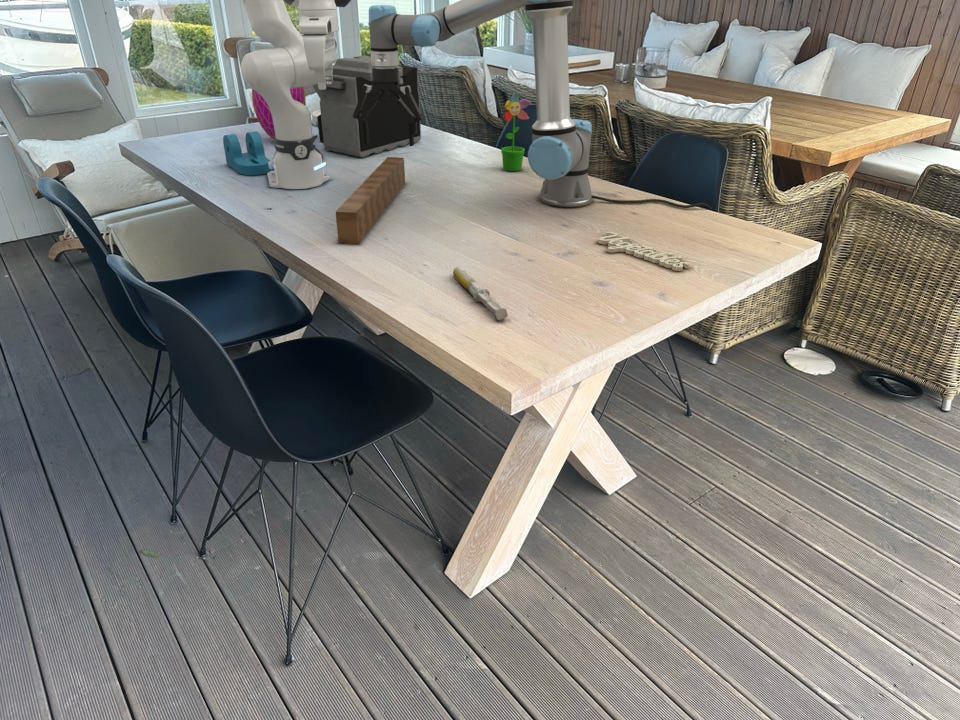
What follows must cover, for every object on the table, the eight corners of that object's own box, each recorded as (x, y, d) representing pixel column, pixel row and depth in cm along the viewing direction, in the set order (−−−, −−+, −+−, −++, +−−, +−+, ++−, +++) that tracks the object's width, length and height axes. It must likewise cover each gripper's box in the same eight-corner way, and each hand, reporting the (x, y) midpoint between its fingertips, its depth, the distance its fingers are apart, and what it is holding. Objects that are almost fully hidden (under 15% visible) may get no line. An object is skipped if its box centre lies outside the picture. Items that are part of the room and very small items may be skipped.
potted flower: (506, 173, 227) (508, 93, 214) (495, 167, 233) (496, 89, 220) (530, 170, 231) (534, 91, 218) (519, 164, 237) (522, 87, 224)
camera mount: (227, 164, 233) (221, 132, 227) (257, 160, 238) (252, 129, 233) (244, 176, 220) (239, 143, 215) (276, 172, 225) (271, 139, 220)
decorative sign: (584, 239, 172) (609, 230, 178) (583, 243, 172) (609, 234, 178) (672, 271, 155) (697, 260, 161) (671, 275, 156) (696, 264, 161)
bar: (389, 183, 217) (387, 156, 213) (405, 183, 216) (404, 157, 212) (338, 243, 171) (335, 211, 167) (358, 244, 171) (355, 212, 166)
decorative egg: (293, 132, 276) (283, 50, 261) (319, 140, 264) (310, 56, 249) (249, 139, 265) (236, 54, 250) (273, 148, 253) (261, 60, 238)
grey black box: (383, 133, 276) (378, 52, 261) (425, 141, 265) (422, 56, 250) (314, 150, 251) (304, 61, 235) (358, 160, 240) (350, 67, 224)
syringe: (449, 274, 155) (449, 263, 153) (465, 272, 156) (464, 260, 154) (490, 323, 135) (491, 310, 133) (508, 319, 136) (508, 307, 134)
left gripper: (313, 21, 170) (320, 81, 176) (296, 26, 152) (305, 92, 158) (339, 20, 170) (345, 80, 176) (325, 25, 152) (332, 92, 159)
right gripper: (337, 67, 191) (344, 145, 201) (426, 70, 188) (428, 149, 199) (345, 63, 197) (352, 139, 208) (431, 66, 194) (433, 143, 205)
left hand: (326, 86), depth 167 cm, fingers open, 8 cm apart
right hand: (389, 144), depth 203 cm, fingers open, 13 cm apart
